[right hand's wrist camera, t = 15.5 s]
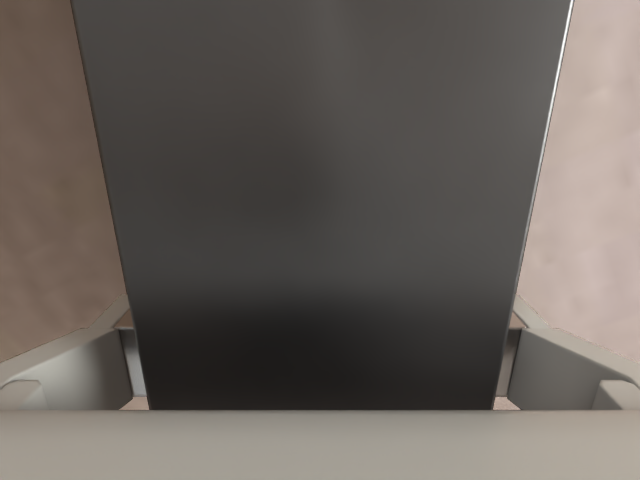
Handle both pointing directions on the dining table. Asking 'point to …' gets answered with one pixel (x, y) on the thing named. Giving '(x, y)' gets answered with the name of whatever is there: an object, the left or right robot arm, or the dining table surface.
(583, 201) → the dining table surface
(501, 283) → the box
